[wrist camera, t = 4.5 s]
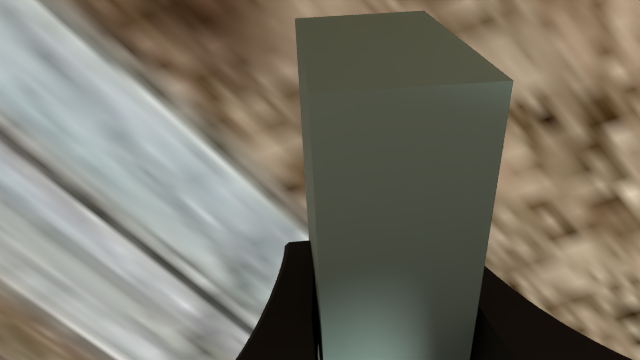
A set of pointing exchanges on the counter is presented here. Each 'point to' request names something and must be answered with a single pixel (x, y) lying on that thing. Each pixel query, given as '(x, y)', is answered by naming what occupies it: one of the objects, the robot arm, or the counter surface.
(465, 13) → the counter surface
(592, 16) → the counter surface
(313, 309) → the robot arm
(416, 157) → the rectangular block
